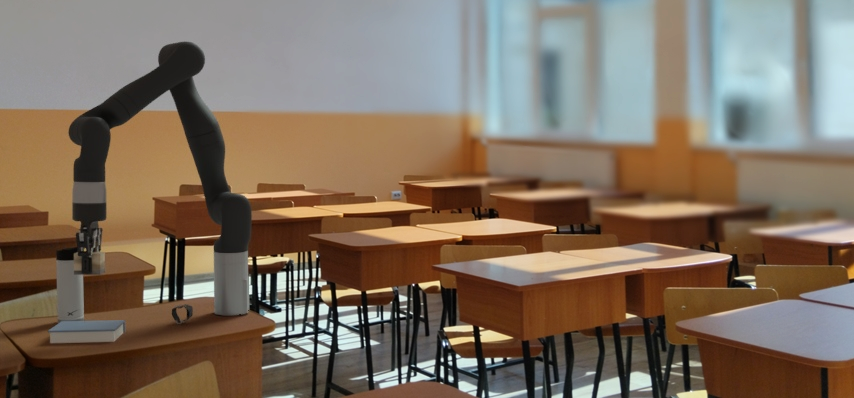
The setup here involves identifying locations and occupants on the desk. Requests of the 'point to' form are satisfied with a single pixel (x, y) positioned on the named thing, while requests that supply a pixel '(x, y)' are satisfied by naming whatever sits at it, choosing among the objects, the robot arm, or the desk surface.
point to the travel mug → (68, 287)
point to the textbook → (87, 331)
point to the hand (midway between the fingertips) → (89, 271)
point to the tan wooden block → (97, 264)
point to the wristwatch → (189, 313)
